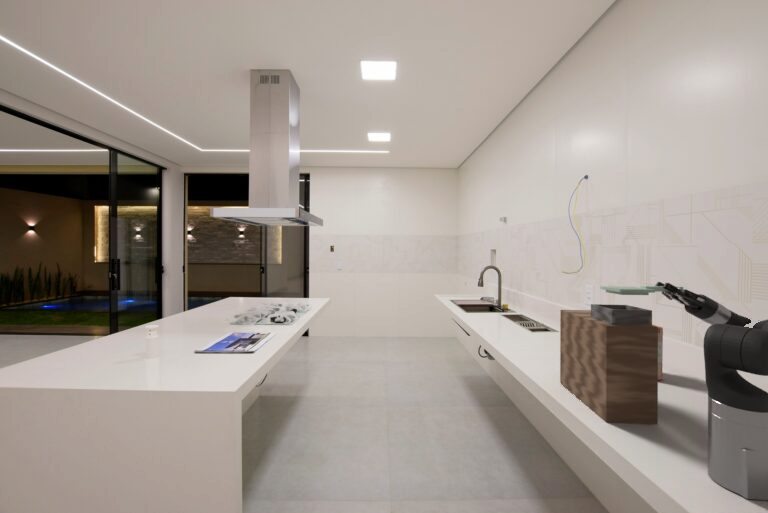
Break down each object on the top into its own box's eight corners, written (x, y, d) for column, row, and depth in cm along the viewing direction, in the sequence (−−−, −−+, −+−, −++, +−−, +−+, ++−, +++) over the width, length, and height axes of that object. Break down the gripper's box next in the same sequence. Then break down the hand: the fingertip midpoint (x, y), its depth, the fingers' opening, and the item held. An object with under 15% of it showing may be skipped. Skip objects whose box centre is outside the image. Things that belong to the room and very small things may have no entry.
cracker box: (663, 381, 123) (663, 327, 123) (646, 379, 124) (646, 326, 124) (642, 368, 137) (642, 320, 137) (626, 367, 138) (626, 319, 138)
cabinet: (657, 424, 90) (657, 311, 91) (606, 422, 92) (606, 310, 92) (599, 385, 118) (599, 298, 119) (560, 383, 120) (560, 298, 120)
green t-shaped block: (693, 296, 104) (693, 288, 104) (620, 295, 106) (620, 287, 106) (666, 292, 115) (666, 285, 115) (600, 291, 117) (600, 284, 117)
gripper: (694, 298, 116) (651, 274, 117) (734, 303, 102) (684, 276, 103) (683, 315, 116) (640, 291, 117) (721, 323, 102) (671, 296, 103)
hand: (661, 284), depth 110 cm, fingers closed on green t-shaped block, 3 cm apart
